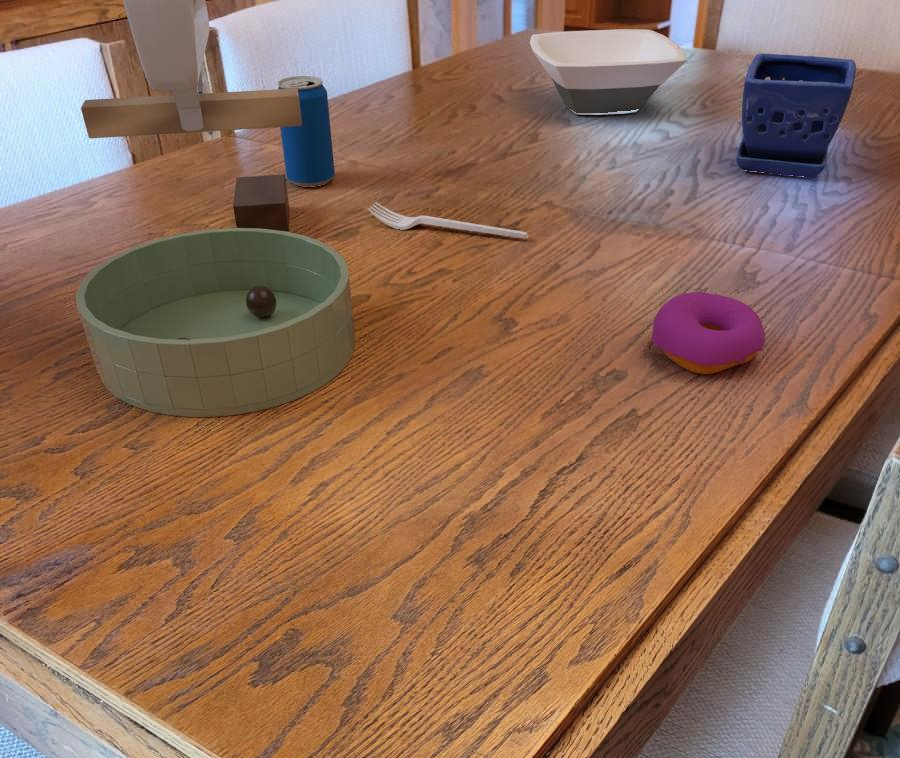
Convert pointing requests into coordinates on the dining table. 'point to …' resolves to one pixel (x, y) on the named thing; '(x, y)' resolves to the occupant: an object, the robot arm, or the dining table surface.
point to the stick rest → (262, 202)
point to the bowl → (607, 66)
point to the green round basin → (218, 321)
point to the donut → (707, 332)
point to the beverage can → (308, 135)
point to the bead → (261, 302)
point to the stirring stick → (216, 107)
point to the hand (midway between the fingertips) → (195, 122)
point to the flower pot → (792, 112)
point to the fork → (437, 223)
